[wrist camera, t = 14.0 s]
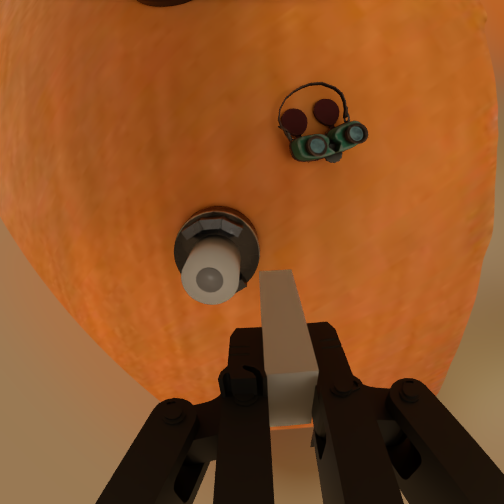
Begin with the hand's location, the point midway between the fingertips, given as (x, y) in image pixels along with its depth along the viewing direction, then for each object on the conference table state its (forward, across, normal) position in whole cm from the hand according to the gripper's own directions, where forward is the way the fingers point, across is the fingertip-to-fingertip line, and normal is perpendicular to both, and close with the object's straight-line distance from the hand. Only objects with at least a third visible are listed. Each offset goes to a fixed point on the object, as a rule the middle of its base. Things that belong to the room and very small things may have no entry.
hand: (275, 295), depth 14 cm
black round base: (+26, -6, -7) cm, 28 cm away
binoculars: (+27, +7, +9) cm, 29 cm away
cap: (+22, -6, -7) cm, 24 cm away
